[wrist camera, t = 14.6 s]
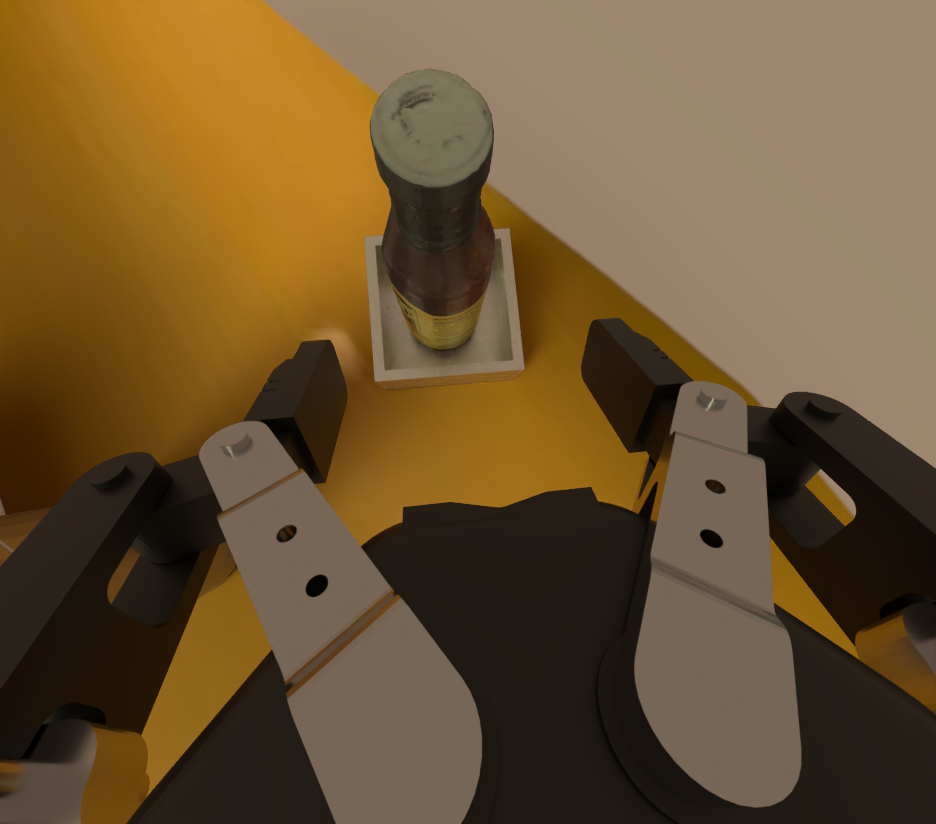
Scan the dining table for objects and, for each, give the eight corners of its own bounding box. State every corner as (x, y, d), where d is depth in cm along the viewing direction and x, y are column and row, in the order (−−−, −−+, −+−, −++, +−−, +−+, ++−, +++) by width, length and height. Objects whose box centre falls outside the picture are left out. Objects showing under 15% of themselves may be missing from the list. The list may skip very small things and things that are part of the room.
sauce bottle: (408, 285, 31) (334, 6, 11) (477, 288, 31) (528, 22, 11) (406, 357, 30) (324, 200, 10) (476, 359, 30) (527, 211, 11)
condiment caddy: (385, 390, 30) (374, 381, 26) (376, 265, 31) (364, 236, 27) (513, 379, 31) (524, 369, 27) (501, 257, 32) (509, 228, 28)
